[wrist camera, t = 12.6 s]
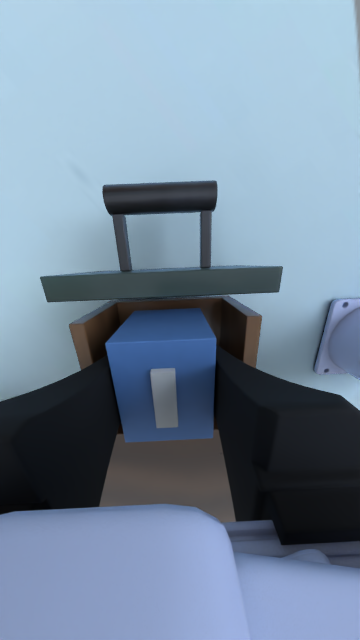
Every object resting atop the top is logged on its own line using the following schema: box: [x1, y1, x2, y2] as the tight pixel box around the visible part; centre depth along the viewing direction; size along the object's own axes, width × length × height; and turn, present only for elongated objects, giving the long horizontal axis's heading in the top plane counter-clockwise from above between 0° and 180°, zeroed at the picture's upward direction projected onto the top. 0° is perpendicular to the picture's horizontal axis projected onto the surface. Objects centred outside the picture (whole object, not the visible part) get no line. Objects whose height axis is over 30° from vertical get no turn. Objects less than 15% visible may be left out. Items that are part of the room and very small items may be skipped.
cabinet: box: [99, 419, 236, 523], centre depth 16 cm, size 13×12×8 cm
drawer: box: [40, 181, 283, 424], centre depth 12 cm, size 17×11×6 cm, turn 2°
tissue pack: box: [105, 308, 216, 442], centre depth 9 cm, size 4×6×5 cm
